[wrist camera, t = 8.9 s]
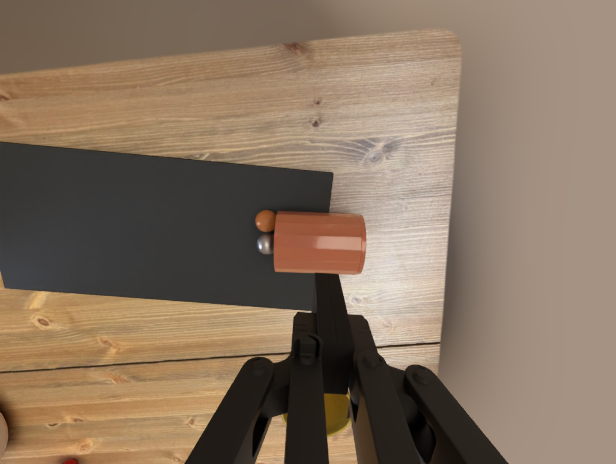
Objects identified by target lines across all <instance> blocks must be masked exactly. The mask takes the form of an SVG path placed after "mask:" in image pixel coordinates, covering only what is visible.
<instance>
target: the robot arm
mask: <svg viewBox="0 0 616 464" xmlns="http://www.w3.org/2000/svg"><path fill="white" fill-rule="evenodd" d="M348 387H349V391H350V399H349V405H348V411H347V419H349V417H350V416H351V422H352V429H353V435H354V442H355V448H356V455H357V461H358V464H508V462H507V461H506V460H505V459H504V458H503V456H502V455H501V454H500V453H499V452H498V450H497V449H496V448H495V447H494V446H493V444H492V443H491V442H490V441H489V439H488V438H487V437H486V436H485V435H484V433H483V432H482V431H481V430H480V428H479V427H478V426H477V425H476V424H475V422H474V421H473V420H472V419H471V418H470V417H469V415H468V414H467V413H466V411H465V410H464V409H463V408H462V407H461V406H460V404H459V403H458V402H457V400H456V399H455V398H454V397H453V396H452V395H451V393H450V392H449V391H448V390H447V388H446V387H445V386H444V385H443V383H442V382H441V381H440V380H439V379H438V377H437V376H436V375H435V374H434V373H433V372H432V371H431V370H429V369H428V368H426V367H424V366H421V365H410V366H408V367H407V368H406V370H405V371H403V370H400V369H396V368H394V367H391V366H389V365H388V364H386V361H385V360H384V358H383V357H382V356H381V355H379V354H378V352H377V349H376V346H375V343H374V340H373V337H372V335H371V330H370V327H369V324H368V321H367V320H366V319H365V318H364V317H363V316H362V315H350V314H348V313H347V309H346V305H345V300H344V296H343V292H342V287H341V283H340V279H339V274H332V273H317V272H315V278H314V288H313V299H312V313H306V312H297V314H296V315H295V316H294V319H293V333H292V348H291V354H290V355H289V357H288V358H286V359H285V360H283V361H281V362H278V363H272V362H271V361H270V360H269V359H267V358H265V357H255V358H251V359H250V360H248V361H247V362H246V363H245V364H244V365H243V366H242V368H241V370H240V372H239V373H238V375H237V377H236V378H235V380H234V382H233V383H232V385H231V387H230V388H229V390H228V392H227V393H226V395H225V397H224V398H223V400H222V402H221V403H220V405H219V407H218V408H217V410H216V412H215V413H214V415H213V417H212V418H211V420H210V422H209V424H208V425H207V427H206V429H205V430H204V432H203V434H202V435H201V437H200V439H199V440H198V442H197V444H196V445H195V447H194V449H193V450H192V452H191V454H190V455H189V457H188V459H187V460H186V462H185V464H255V462H256V459H257V456H258V454H259V451H260V449H261V446H262V443H263V441H264V438H265V435H266V433H267V430H268V428H269V425H270V422H271V419H272V417H274V416H278V415H282V414H285V413H287V425H286V441H285V457H284V464H329V457H328V443H327V430H326V416H325V402H324V394H342V395H347V393H348Z"/></svg>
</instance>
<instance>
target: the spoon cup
mask: <svg viewBox="0 0 616 464" xmlns="http://www.w3.org/2000/svg"><path fill="white" fill-rule="evenodd" d="M365 254H366V228H365V222H364V218H363V216H362V215H357V214H343V213H318V212H293V211H278V212H277V215H276V222H275V233H274V269H275V272H294V273H315V272H317V273H332V274H352V275H355V274H360V273H361V272H362V269H363V266H364V261H365Z"/></svg>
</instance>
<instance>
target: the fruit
mask: <svg viewBox="0 0 616 464" xmlns="http://www.w3.org/2000/svg"><path fill="white" fill-rule="evenodd" d="M62 464H78V463H77V461H76V460H74V459H72V460H68V461H65V462H64V463H62Z"/></svg>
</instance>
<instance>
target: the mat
mask: <svg viewBox="0 0 616 464" xmlns="http://www.w3.org/2000/svg"><path fill="white" fill-rule="evenodd" d="M332 181H333V173H332V172H321V171H310V170H299V169H289V168H278V167H267V166H256V165H245V164H235V163H224V162H213V161H202V160H191V159H181V158H170V157H159V156H148V155H138V154H127V153H116V152H105V151H94V150H84V149H73V148H62V147H51V146H40V145H30V144H19V143H8V142H0V272H1V275H2V279H3V283H4V287H5V288H9V289H22V290H36V291H49V292H63V293H76V294H90V295H103V296H117V297H130V298H144V299H157V300H171V301H184V302H198V303H211V304H225V305H238V306H252V307H265V308H279V309H292V310H306V311H312V299H313V288H314V278H315V273H294V272H275V269H274V253H273V254H269V255H266V254H263V253H261V252H260V251H259V250H258V248H257V240H258V238H259V237H260V236H261V235H262V234H264V233H271V234H273V235H274V233H275V229H274V230H272V231H270V232H263V231H261V230H259V229H258V228H257V226H256V223H255V219H256V216H257V214H258V213H259V212H261V211H263V210H270V211H272V212H274V213H275V214H276V215H277V212H278V211H293V212H318V213H329V206H330V198H331V189H332Z"/></svg>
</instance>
